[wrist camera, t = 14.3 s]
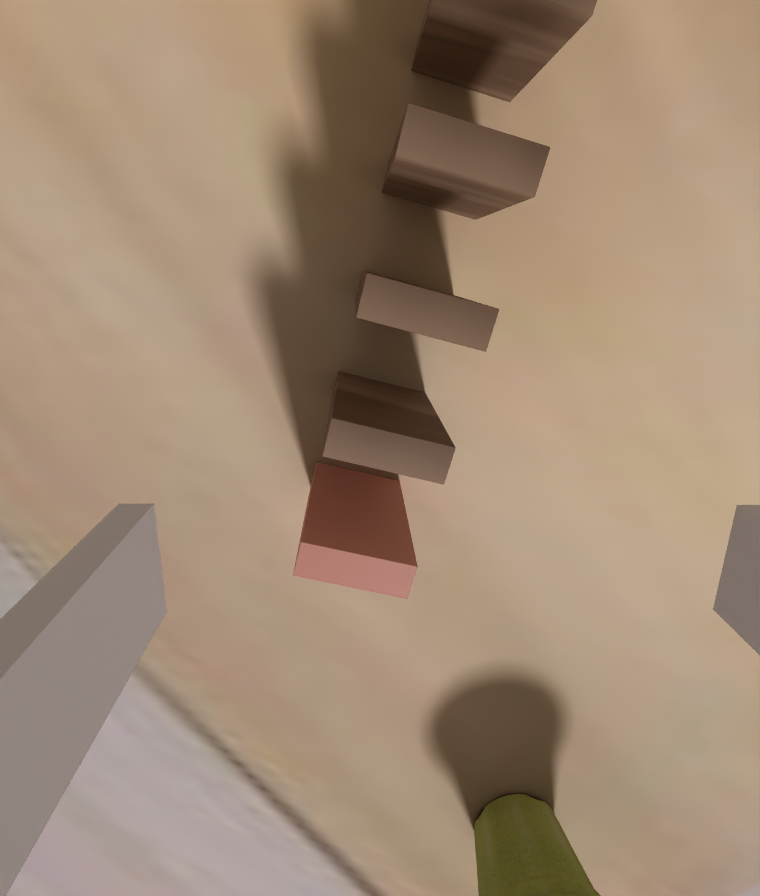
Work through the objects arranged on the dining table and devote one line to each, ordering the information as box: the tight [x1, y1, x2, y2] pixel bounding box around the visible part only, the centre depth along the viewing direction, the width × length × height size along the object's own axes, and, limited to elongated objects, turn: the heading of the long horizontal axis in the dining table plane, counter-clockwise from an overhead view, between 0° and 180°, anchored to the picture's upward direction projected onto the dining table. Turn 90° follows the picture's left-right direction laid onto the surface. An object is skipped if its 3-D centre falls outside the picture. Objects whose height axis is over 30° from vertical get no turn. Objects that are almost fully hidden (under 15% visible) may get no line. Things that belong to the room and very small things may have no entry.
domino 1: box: [411, 0, 597, 102], centre depth 22 cm, size 2×5×10 cm, turn 75°
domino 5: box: [293, 462, 417, 599], centre depth 29 cm, size 2×5×10 cm, turn 75°
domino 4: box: [323, 372, 455, 484], centre depth 27 cm, size 2×5×10 cm, turn 76°
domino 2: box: [382, 103, 550, 219], centre depth 24 cm, size 2×5×10 cm, turn 75°
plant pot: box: [474, 794, 600, 896], centre depth 38 cm, size 9×9×9 cm
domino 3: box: [356, 271, 499, 352], centre depth 25 cm, size 2×5×10 cm, turn 75°
